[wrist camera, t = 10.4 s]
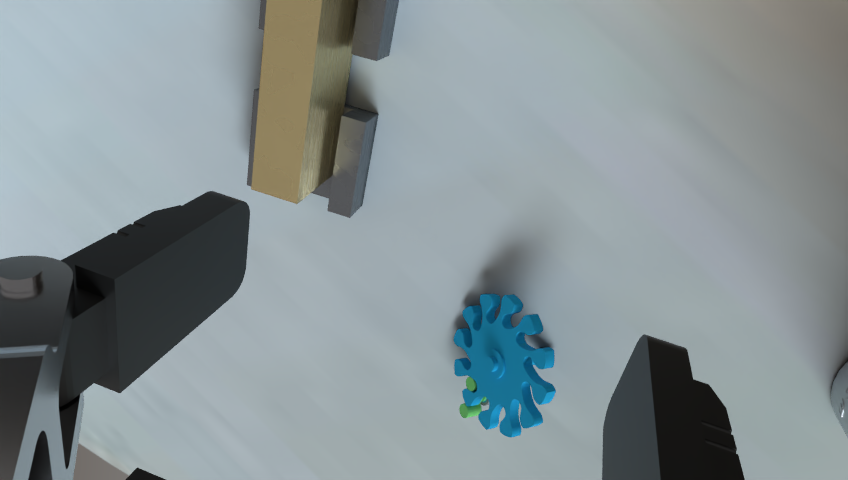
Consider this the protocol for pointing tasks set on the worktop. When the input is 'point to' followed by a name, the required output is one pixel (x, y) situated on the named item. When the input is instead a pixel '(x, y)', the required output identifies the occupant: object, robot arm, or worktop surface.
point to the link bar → (301, 94)
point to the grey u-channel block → (349, 112)
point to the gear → (502, 365)
